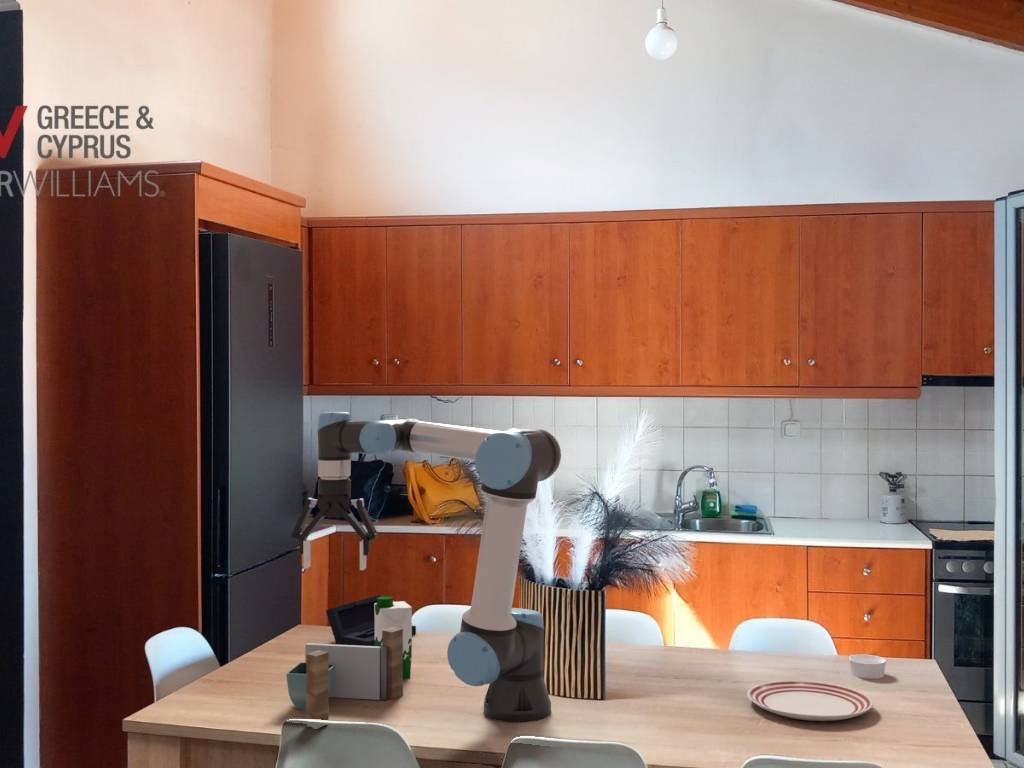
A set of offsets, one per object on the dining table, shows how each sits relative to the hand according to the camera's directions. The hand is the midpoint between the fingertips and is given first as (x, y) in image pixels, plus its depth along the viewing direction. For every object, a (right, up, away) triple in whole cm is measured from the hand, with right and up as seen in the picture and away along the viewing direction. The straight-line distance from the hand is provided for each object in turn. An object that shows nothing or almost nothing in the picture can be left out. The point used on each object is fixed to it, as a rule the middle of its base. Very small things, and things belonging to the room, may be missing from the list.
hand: (334, 568), depth 234 cm
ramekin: (+131, -31, +19) cm, 136 cm away
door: (+3, -30, 0) cm, 30 cm away
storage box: (+1, -31, +55) cm, 63 cm away
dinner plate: (+109, -31, -7) cm, 113 cm away
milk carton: (+12, -31, +17) cm, 37 cm away
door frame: (+7, -30, -9) cm, 33 cm away
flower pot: (-4, -31, -7) cm, 32 cm away
